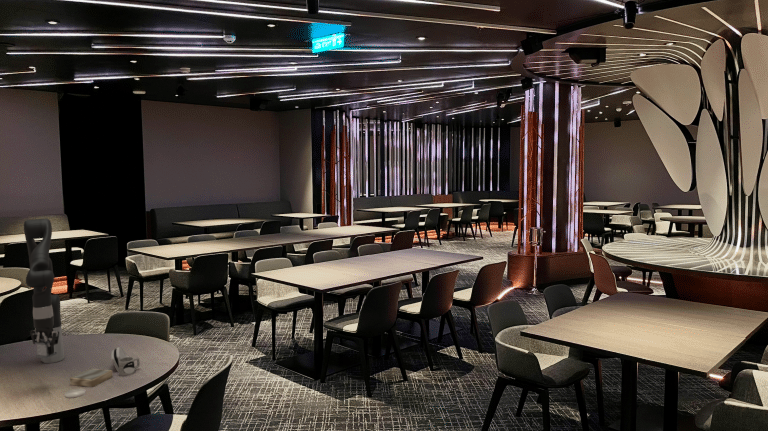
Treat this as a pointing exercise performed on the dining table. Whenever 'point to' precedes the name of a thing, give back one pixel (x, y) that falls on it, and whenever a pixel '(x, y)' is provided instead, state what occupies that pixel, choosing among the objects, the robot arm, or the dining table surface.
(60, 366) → the dining table surface
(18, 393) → the dining table surface
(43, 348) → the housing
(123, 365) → the mug
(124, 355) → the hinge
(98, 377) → the wooden framed mirror
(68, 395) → the white smooth dome part
